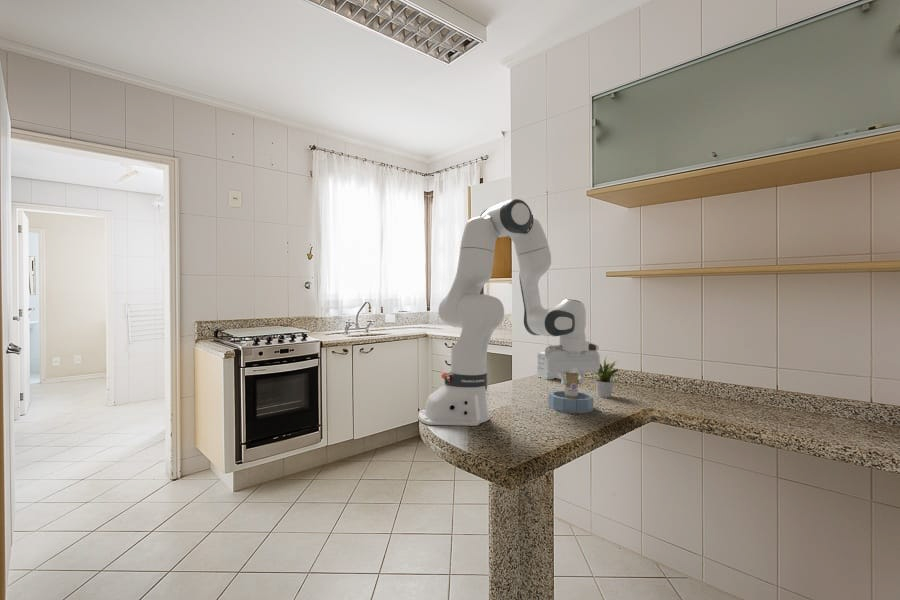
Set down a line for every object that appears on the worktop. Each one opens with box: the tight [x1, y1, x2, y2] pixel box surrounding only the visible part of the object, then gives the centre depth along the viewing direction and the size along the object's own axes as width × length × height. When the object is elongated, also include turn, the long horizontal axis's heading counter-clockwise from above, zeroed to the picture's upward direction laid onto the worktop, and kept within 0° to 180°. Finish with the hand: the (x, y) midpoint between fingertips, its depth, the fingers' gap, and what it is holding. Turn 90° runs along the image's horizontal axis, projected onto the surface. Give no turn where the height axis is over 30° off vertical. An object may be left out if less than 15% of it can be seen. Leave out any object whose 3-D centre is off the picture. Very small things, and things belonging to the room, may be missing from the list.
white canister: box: [536, 351, 559, 380], centre depth 208 cm, size 7×7×13 cm
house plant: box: [589, 355, 620, 399], centre depth 169 cm, size 14×14×16 cm
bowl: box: [548, 389, 594, 414], centre depth 149 cm, size 15×15×4 cm
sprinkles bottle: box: [564, 368, 579, 399], centre depth 149 cm, size 5×5×13 cm
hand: (571, 384), depth 149 cm, fingers closed on sprinkles bottle, 4 cm apart
